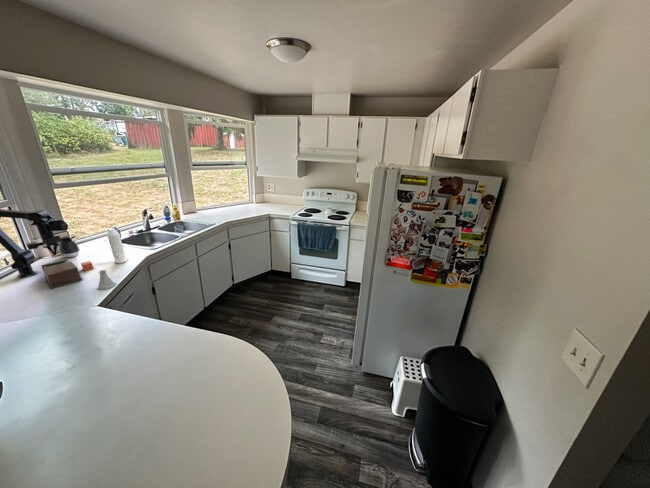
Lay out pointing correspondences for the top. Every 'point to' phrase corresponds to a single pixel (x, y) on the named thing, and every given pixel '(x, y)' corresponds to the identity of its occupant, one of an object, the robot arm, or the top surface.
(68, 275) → the cabinet
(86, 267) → the block
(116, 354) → the top surface
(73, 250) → the black rounded dome
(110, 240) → the white statue
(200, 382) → the top surface
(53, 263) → the drawer
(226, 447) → the top surface
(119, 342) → the top surface
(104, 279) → the flask
